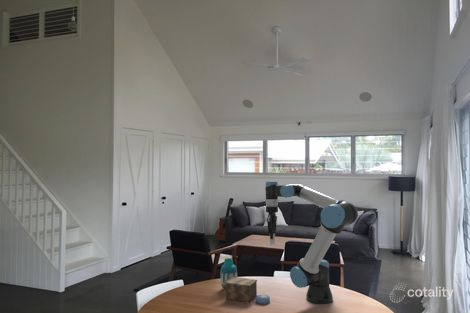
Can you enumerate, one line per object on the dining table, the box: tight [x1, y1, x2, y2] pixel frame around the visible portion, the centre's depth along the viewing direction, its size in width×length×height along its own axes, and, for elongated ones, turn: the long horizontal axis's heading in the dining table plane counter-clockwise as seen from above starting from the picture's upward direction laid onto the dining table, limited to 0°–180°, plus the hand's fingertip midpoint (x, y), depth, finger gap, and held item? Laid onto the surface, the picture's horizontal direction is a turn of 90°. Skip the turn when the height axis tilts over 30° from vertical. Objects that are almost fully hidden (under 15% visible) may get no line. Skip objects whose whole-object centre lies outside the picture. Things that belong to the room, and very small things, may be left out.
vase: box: [220, 257, 238, 290], centre depth 234 cm, size 11×11×19 cm
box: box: [225, 281, 258, 303], centre depth 218 cm, size 15×11×9 cm
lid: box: [225, 276, 258, 289], centre depth 217 cm, size 16×13×2 cm
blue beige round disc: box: [255, 294, 271, 305], centre depth 211 cm, size 8×8×3 cm
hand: (272, 244), depth 225 cm, fingers closed
